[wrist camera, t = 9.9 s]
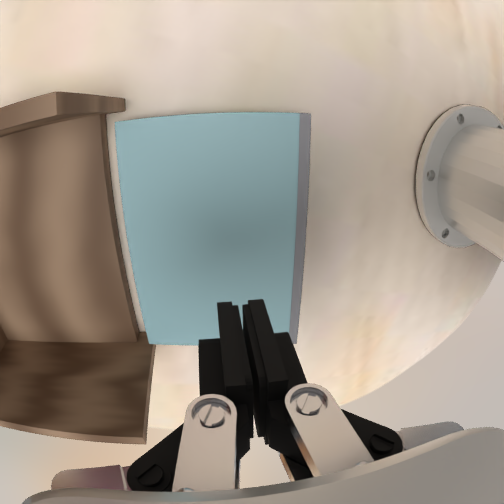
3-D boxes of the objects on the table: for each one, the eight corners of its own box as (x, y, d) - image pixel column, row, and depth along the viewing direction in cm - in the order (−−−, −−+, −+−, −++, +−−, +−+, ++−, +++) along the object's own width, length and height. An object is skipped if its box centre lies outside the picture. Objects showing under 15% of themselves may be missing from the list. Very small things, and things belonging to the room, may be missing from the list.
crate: (124, 98, 17) (55, 91, 8) (156, 339, 24) (146, 444, 15) (-45, 142, 15) (-135, 177, 6) (9, 338, 22) (-32, 417, 13)
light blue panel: (121, 121, 16) (306, 113, 17) (152, 334, 23) (294, 333, 23) (114, 122, 15) (310, 113, 16) (149, 344, 22) (296, 343, 22)
